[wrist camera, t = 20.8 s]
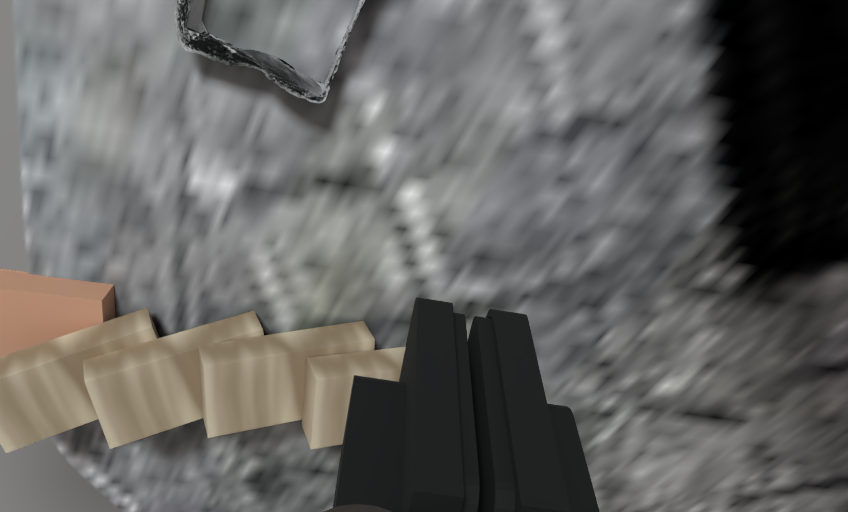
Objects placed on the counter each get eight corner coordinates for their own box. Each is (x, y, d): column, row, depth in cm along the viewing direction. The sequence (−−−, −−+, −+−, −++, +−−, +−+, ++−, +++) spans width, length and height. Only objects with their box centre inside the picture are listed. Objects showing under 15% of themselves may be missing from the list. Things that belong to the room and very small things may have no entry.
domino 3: (262, 328, 45) (84, 382, 42) (276, 393, 48) (109, 449, 44) (254, 310, 47) (82, 360, 44) (268, 373, 49) (107, 425, 46)
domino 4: (374, 339, 46) (203, 367, 42) (371, 406, 48) (208, 437, 44) (363, 320, 47) (197, 345, 44) (359, 385, 50) (202, 414, 46)
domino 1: (101, 300, 45) (-74, 279, 44) (105, 370, 47) (-62, 350, 46) (115, 282, 47) (-53, 262, 46) (118, 350, 49) (-42, 331, 48)
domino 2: (152, 326, 44) (-33, 390, 41) (177, 389, 47) (6, 453, 44) (147, 307, 46) (-30, 366, 43) (172, 369, 49) (6, 429, 46)
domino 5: (476, 360, 46) (316, 380, 42) (463, 424, 49) (310, 449, 45) (461, 340, 48) (306, 357, 44) (450, 403, 50) (301, 425, 46)
